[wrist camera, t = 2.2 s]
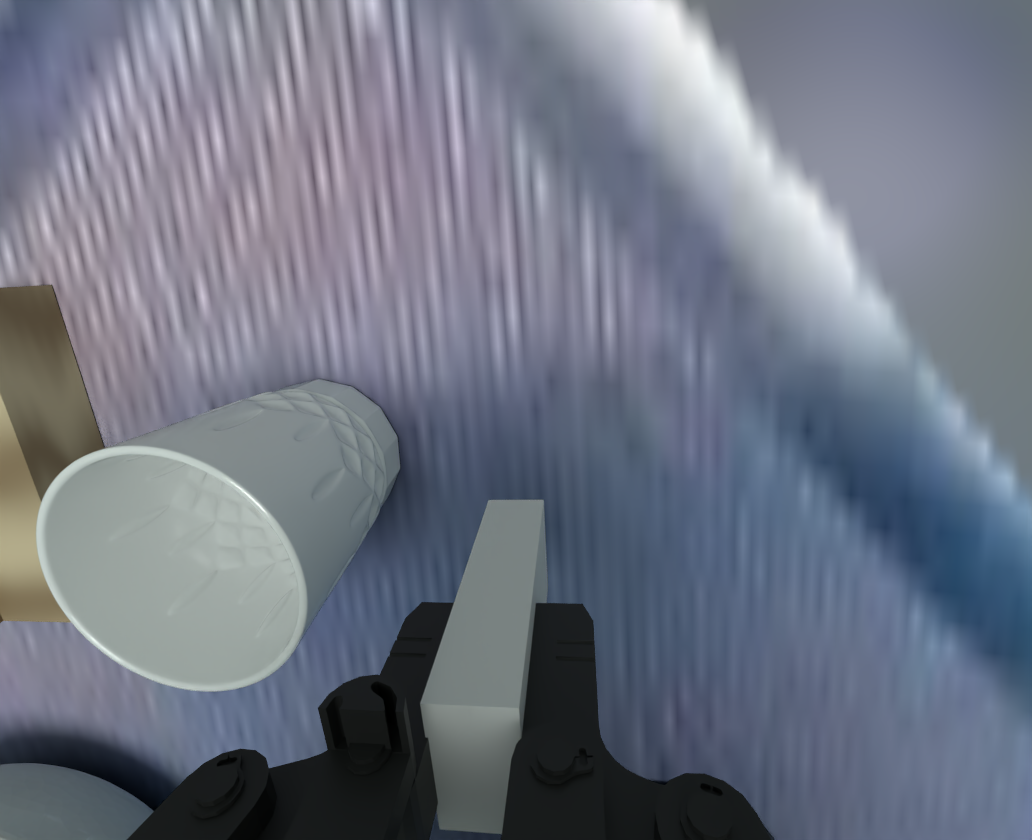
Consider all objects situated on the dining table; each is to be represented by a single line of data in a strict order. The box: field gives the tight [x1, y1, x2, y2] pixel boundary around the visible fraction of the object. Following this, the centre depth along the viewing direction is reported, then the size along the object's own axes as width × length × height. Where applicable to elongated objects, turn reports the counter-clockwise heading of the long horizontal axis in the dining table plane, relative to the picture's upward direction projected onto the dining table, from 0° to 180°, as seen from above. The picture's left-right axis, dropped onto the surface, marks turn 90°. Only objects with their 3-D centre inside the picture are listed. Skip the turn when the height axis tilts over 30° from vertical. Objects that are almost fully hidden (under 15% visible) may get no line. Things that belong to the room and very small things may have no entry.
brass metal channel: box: [0, 285, 104, 623], centre depth 23 cm, size 15×5×4 cm, turn 3°
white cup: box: [36, 379, 400, 692], centre depth 19 cm, size 8×8×10 cm
